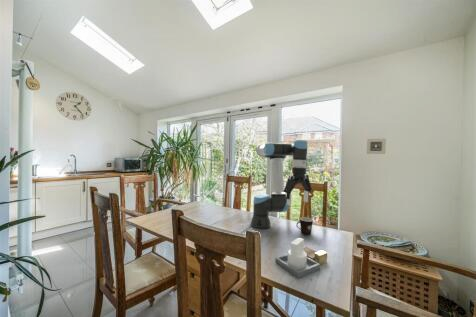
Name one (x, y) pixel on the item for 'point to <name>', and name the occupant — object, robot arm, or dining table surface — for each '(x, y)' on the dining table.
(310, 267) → the tray
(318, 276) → the dining table surface
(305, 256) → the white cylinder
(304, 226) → the coffee mug
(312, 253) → the tan rounded-edge slab
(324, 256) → the block
